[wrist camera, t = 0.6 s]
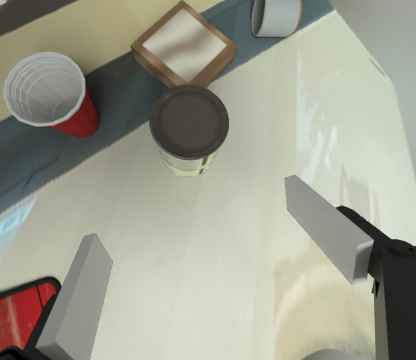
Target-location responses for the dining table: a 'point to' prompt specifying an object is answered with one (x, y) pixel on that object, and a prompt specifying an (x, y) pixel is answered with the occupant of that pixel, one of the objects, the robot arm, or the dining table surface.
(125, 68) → the dining table surface
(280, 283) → the dining table surface
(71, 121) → the plastic cup
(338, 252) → the robot arm
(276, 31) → the ceramic mug
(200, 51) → the picture frame
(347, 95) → the dining table surface
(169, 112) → the coffee can
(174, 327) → the dining table surface
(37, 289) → the binder
